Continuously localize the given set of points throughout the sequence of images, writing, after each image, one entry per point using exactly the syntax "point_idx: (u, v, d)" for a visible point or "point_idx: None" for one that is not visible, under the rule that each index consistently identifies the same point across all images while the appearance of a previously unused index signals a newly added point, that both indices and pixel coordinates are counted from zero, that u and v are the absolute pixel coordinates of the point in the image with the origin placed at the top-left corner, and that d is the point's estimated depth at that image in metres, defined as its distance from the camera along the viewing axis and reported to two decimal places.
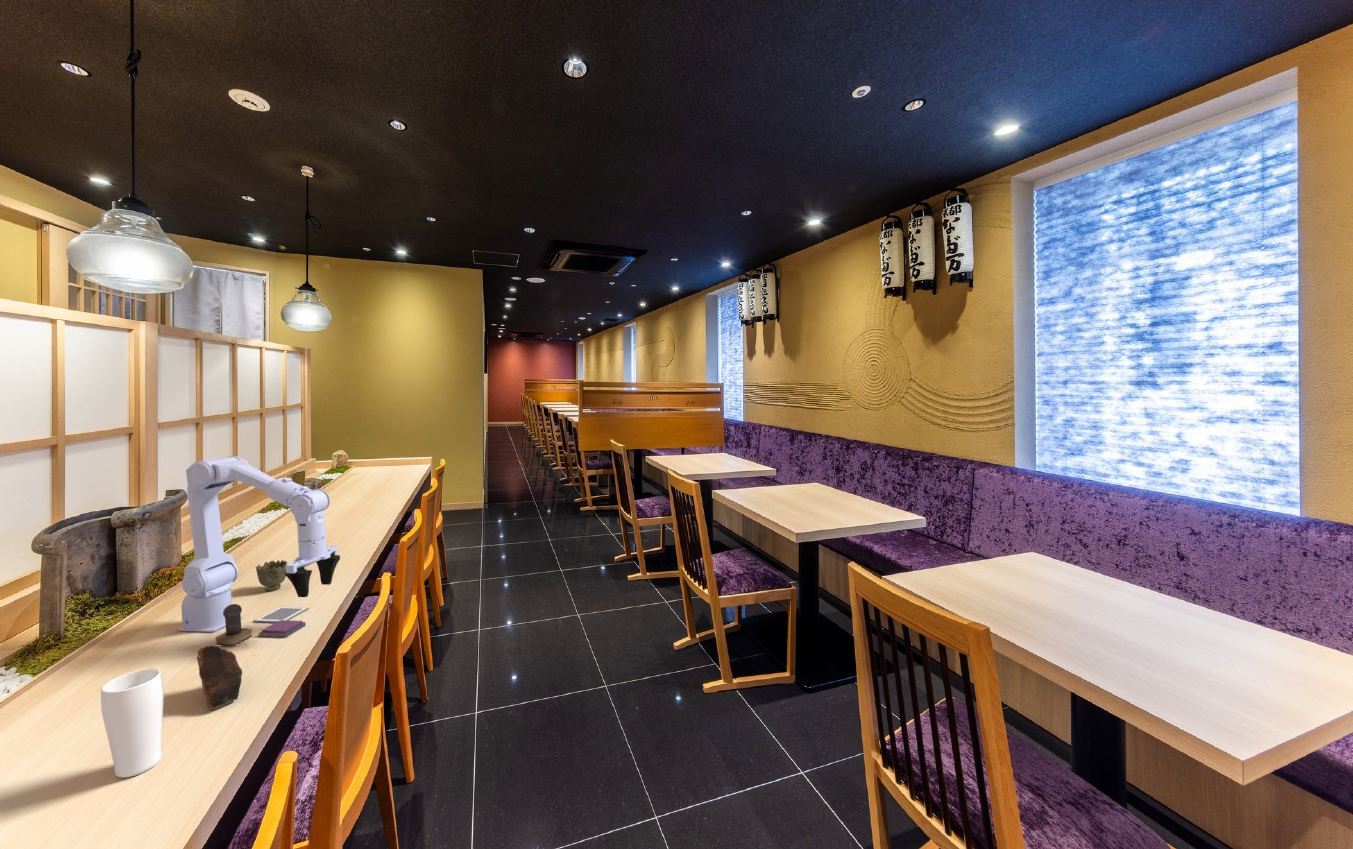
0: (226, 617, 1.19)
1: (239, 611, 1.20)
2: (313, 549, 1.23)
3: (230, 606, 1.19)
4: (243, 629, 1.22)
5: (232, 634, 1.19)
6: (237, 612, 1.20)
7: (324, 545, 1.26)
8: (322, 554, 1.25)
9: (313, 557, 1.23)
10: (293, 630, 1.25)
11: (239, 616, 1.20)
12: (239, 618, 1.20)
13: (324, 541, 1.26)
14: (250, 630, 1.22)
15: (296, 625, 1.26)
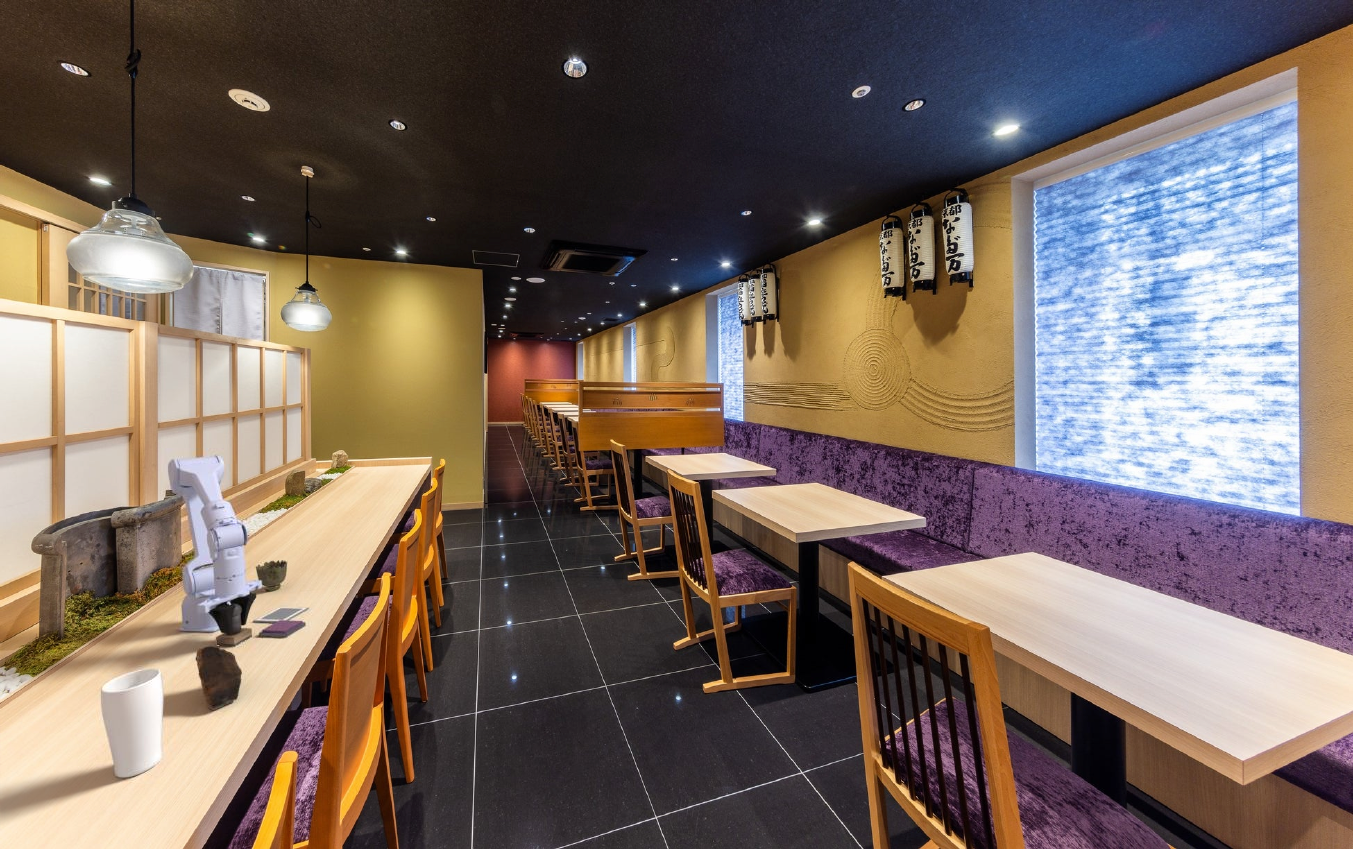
0: None
1: (239, 611, 1.20)
2: (229, 586, 1.17)
3: None
4: (243, 629, 1.22)
5: (232, 634, 1.19)
6: (237, 612, 1.20)
7: (243, 581, 1.20)
8: (240, 591, 1.19)
9: (229, 595, 1.17)
10: (293, 630, 1.25)
11: (239, 616, 1.20)
12: (239, 618, 1.20)
13: (243, 577, 1.20)
14: (250, 630, 1.22)
15: (296, 625, 1.26)
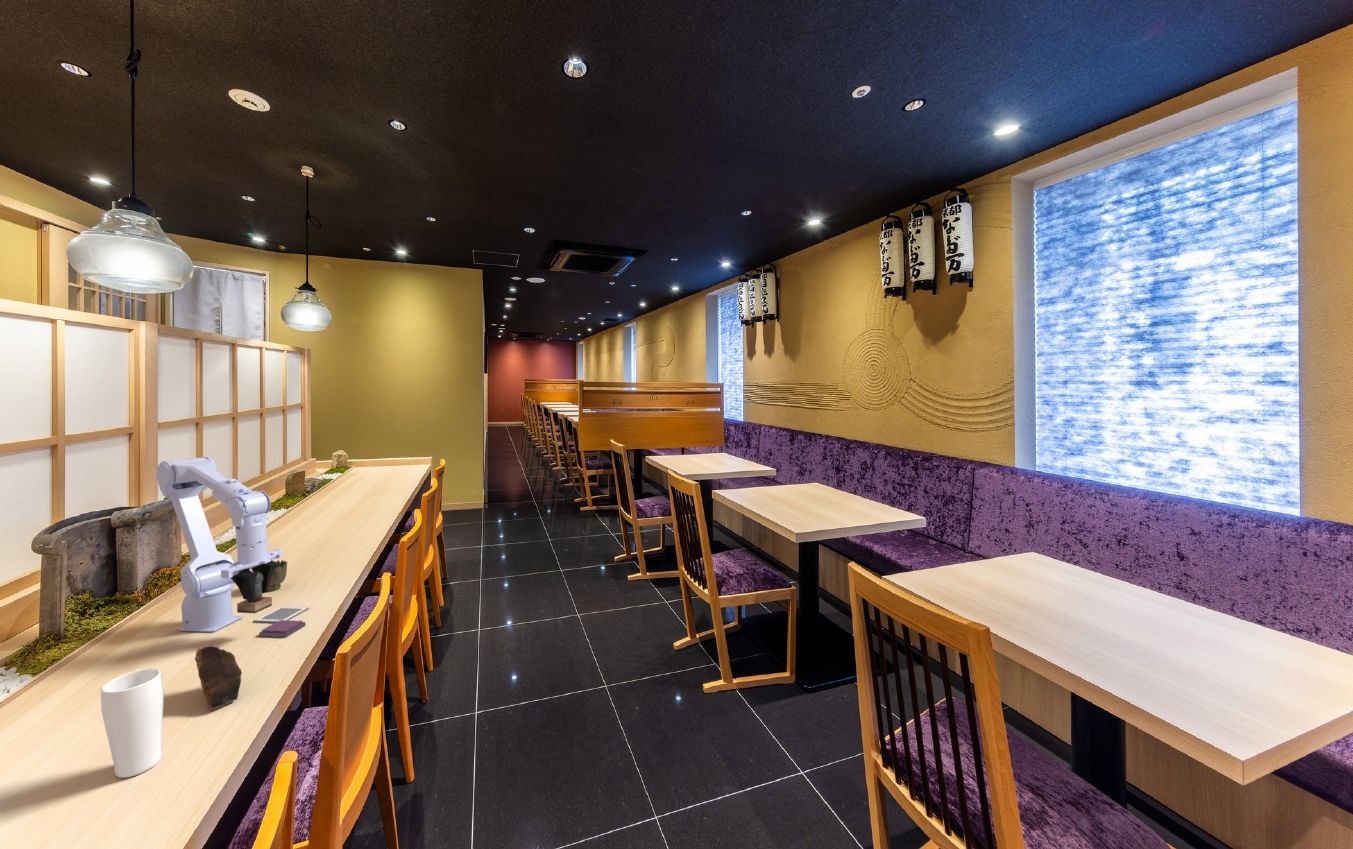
0: None
1: (261, 579, 1.22)
2: (252, 553, 1.19)
3: None
4: (264, 597, 1.24)
5: (253, 601, 1.21)
6: (259, 579, 1.21)
7: (264, 549, 1.21)
8: (262, 558, 1.21)
9: (252, 561, 1.19)
10: (293, 630, 1.25)
11: (260, 584, 1.22)
12: (260, 586, 1.22)
13: (264, 545, 1.22)
14: (270, 598, 1.24)
15: (296, 625, 1.26)
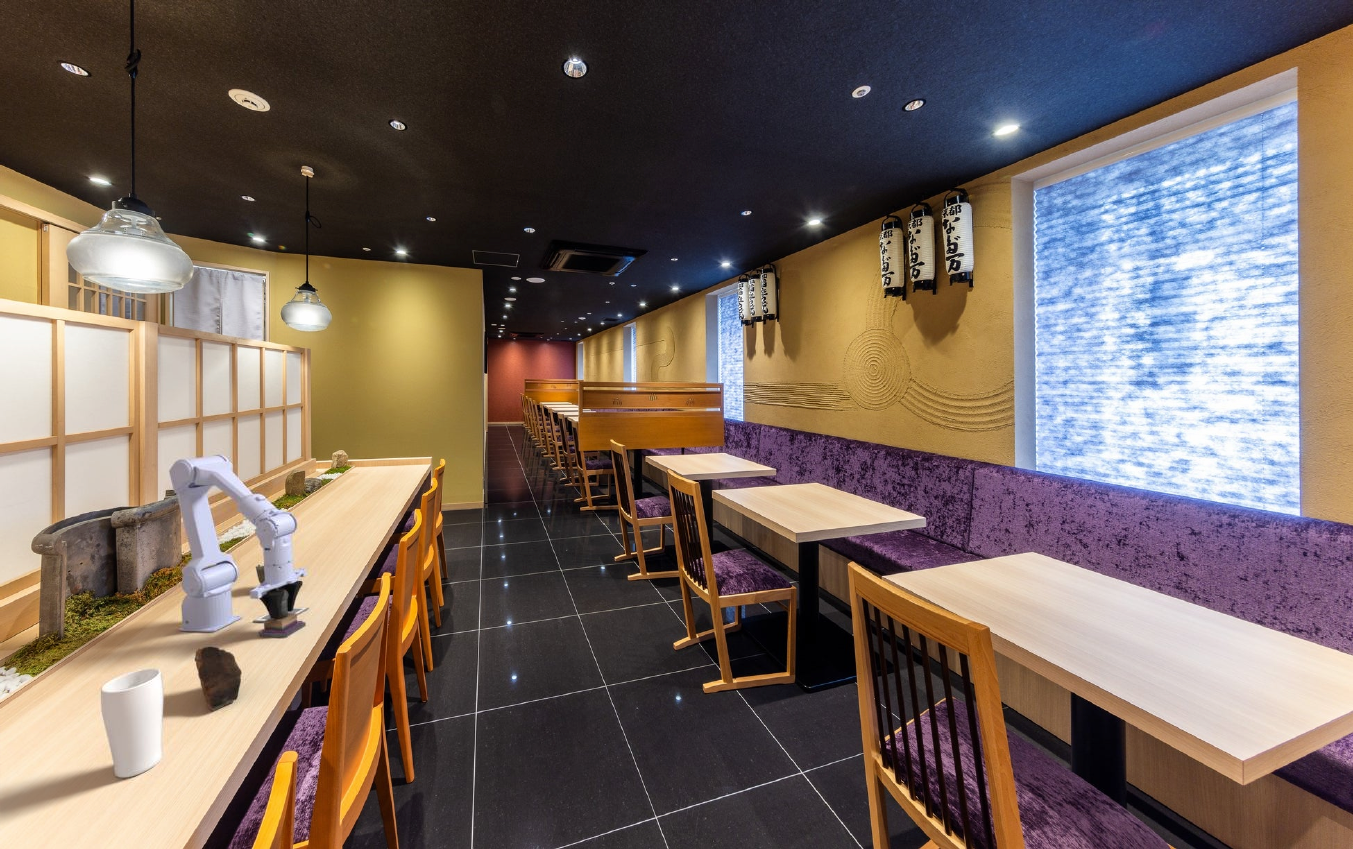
0: None
1: (286, 596, 1.25)
2: (279, 573, 1.22)
3: (278, 591, 1.24)
4: (289, 614, 1.27)
5: (279, 618, 1.24)
6: (285, 597, 1.25)
7: (291, 569, 1.25)
8: (289, 578, 1.24)
9: (279, 581, 1.22)
10: (293, 630, 1.25)
11: (286, 601, 1.25)
12: (286, 603, 1.25)
13: (291, 565, 1.25)
14: (295, 615, 1.27)
15: (296, 625, 1.26)
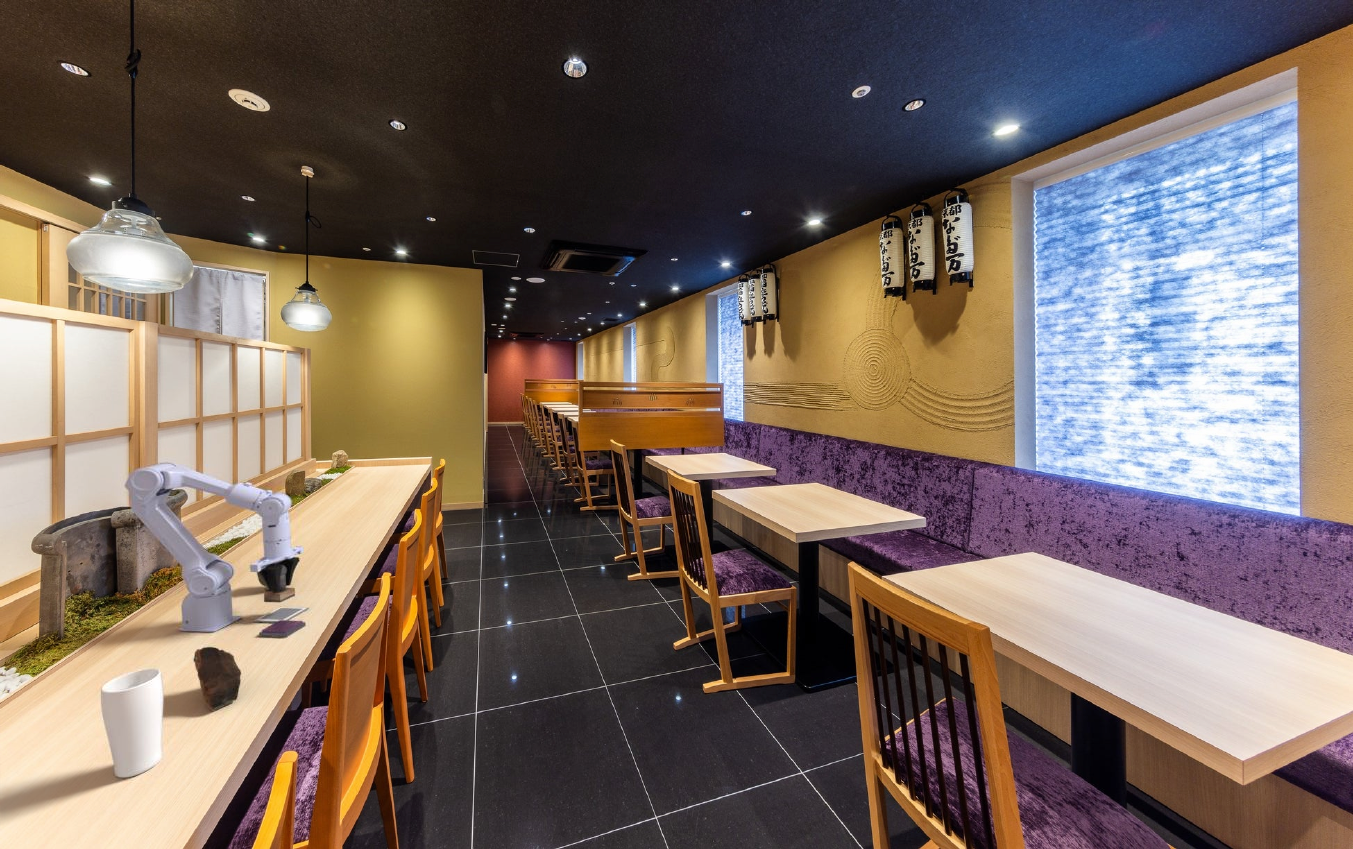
0: None
1: (285, 571, 1.33)
2: (277, 549, 1.30)
3: None
4: (287, 588, 1.35)
5: (278, 591, 1.32)
6: (283, 571, 1.33)
7: (288, 545, 1.33)
8: (286, 554, 1.32)
9: (277, 557, 1.30)
10: (293, 630, 1.25)
11: (284, 575, 1.33)
12: (284, 577, 1.33)
13: (288, 541, 1.33)
14: (293, 589, 1.35)
15: (296, 625, 1.26)
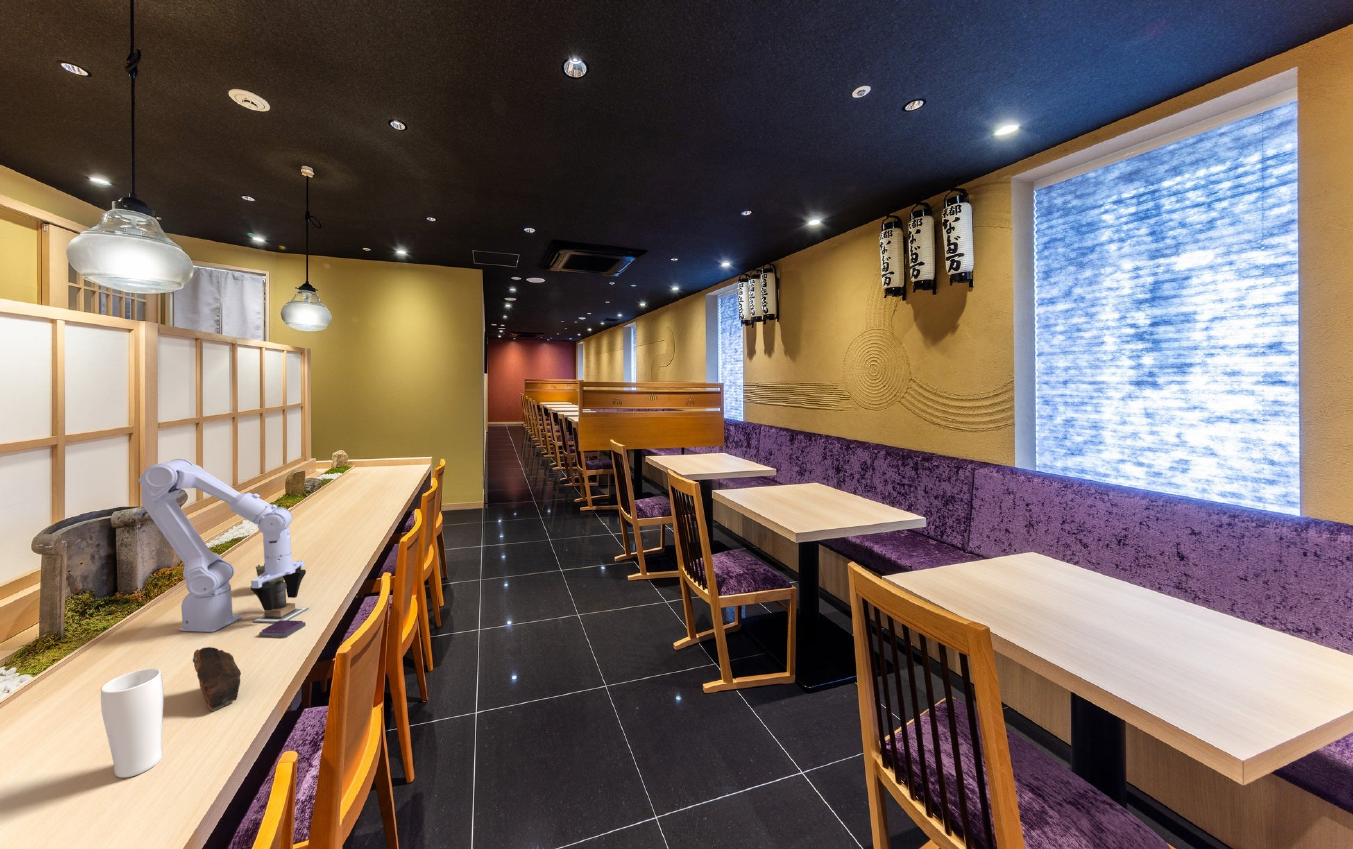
0: None
1: (284, 587, 1.33)
2: (278, 564, 1.31)
3: (277, 582, 1.32)
4: (288, 603, 1.35)
5: (278, 608, 1.32)
6: (283, 588, 1.33)
7: (289, 561, 1.33)
8: (287, 569, 1.32)
9: (278, 572, 1.31)
10: (293, 630, 1.25)
11: (284, 592, 1.34)
12: (284, 593, 1.34)
13: (289, 557, 1.33)
14: (294, 605, 1.35)
15: (296, 625, 1.26)
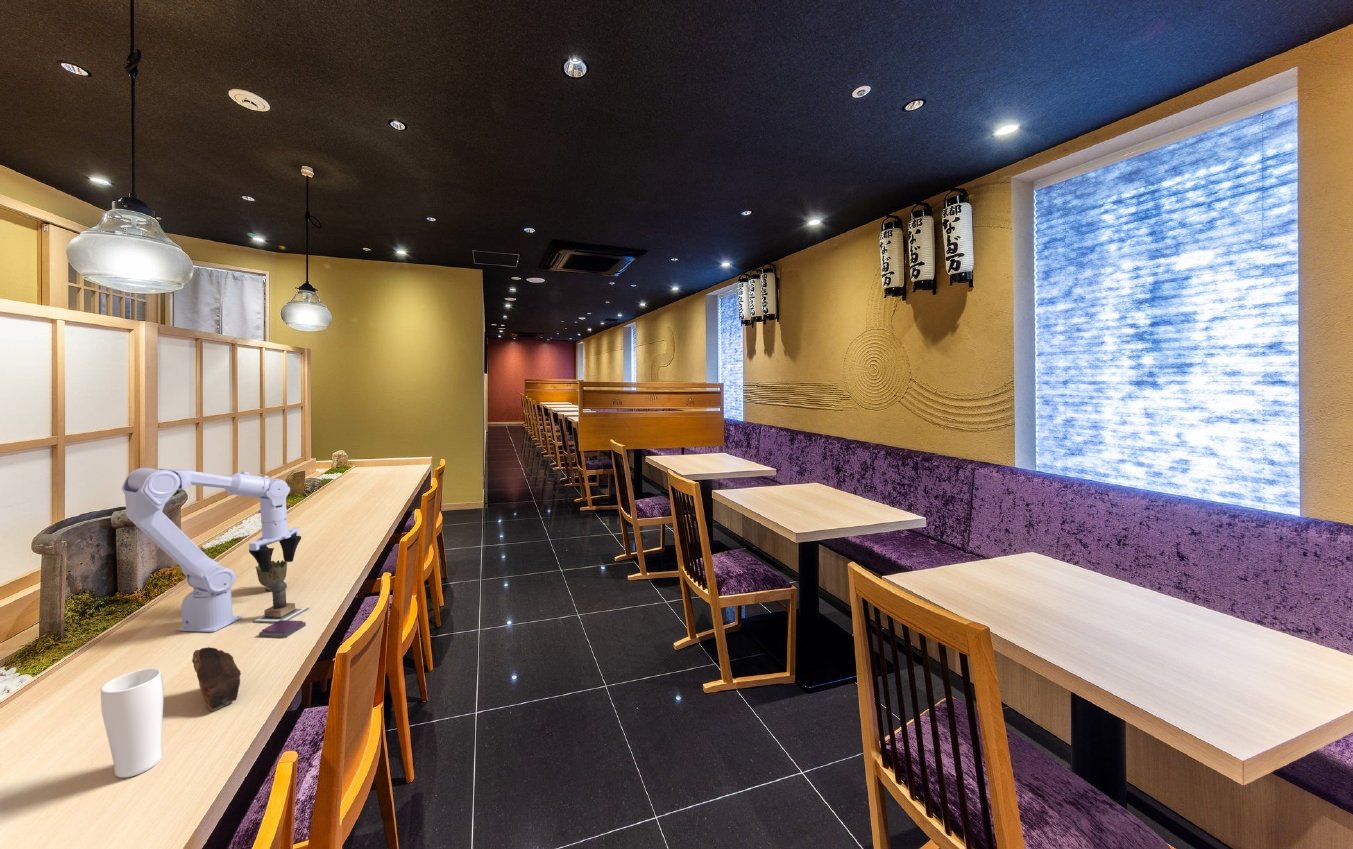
0: (273, 592, 1.32)
1: (284, 587, 1.33)
2: (275, 529, 1.39)
3: (277, 582, 1.32)
4: (288, 603, 1.35)
5: (278, 608, 1.32)
6: (283, 588, 1.33)
7: (285, 526, 1.41)
8: (283, 534, 1.40)
9: (275, 536, 1.39)
10: (293, 630, 1.25)
11: (284, 592, 1.34)
12: (284, 593, 1.34)
13: (285, 522, 1.41)
14: (294, 605, 1.35)
15: (296, 625, 1.26)
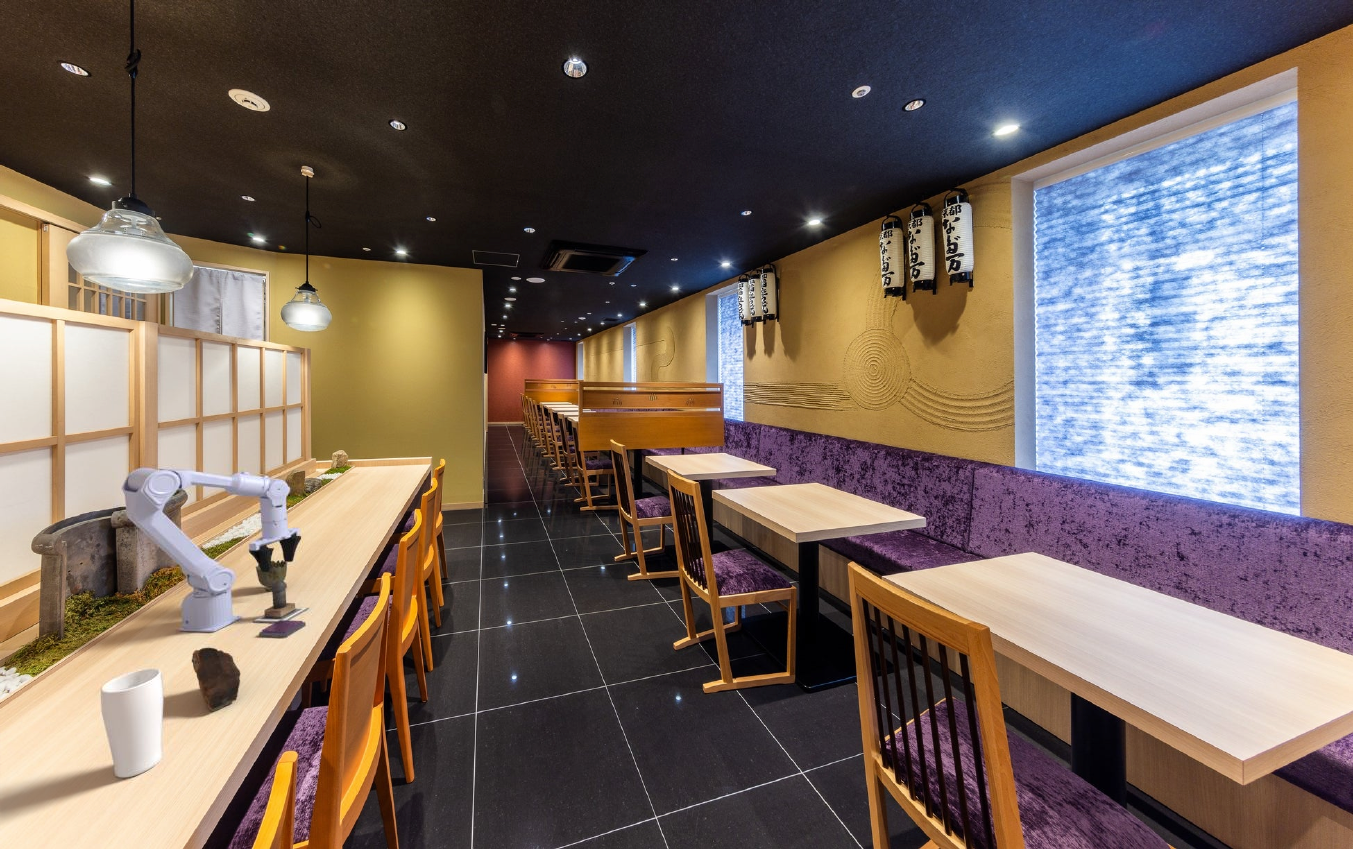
0: (273, 592, 1.32)
1: (284, 587, 1.33)
2: (275, 529, 1.39)
3: (277, 582, 1.32)
4: (288, 603, 1.35)
5: (278, 608, 1.32)
6: (283, 588, 1.33)
7: (285, 526, 1.41)
8: (283, 534, 1.40)
9: (275, 536, 1.39)
10: (293, 630, 1.25)
11: (284, 592, 1.34)
12: (284, 593, 1.34)
13: (285, 522, 1.41)
14: (294, 605, 1.35)
15: (296, 625, 1.26)
